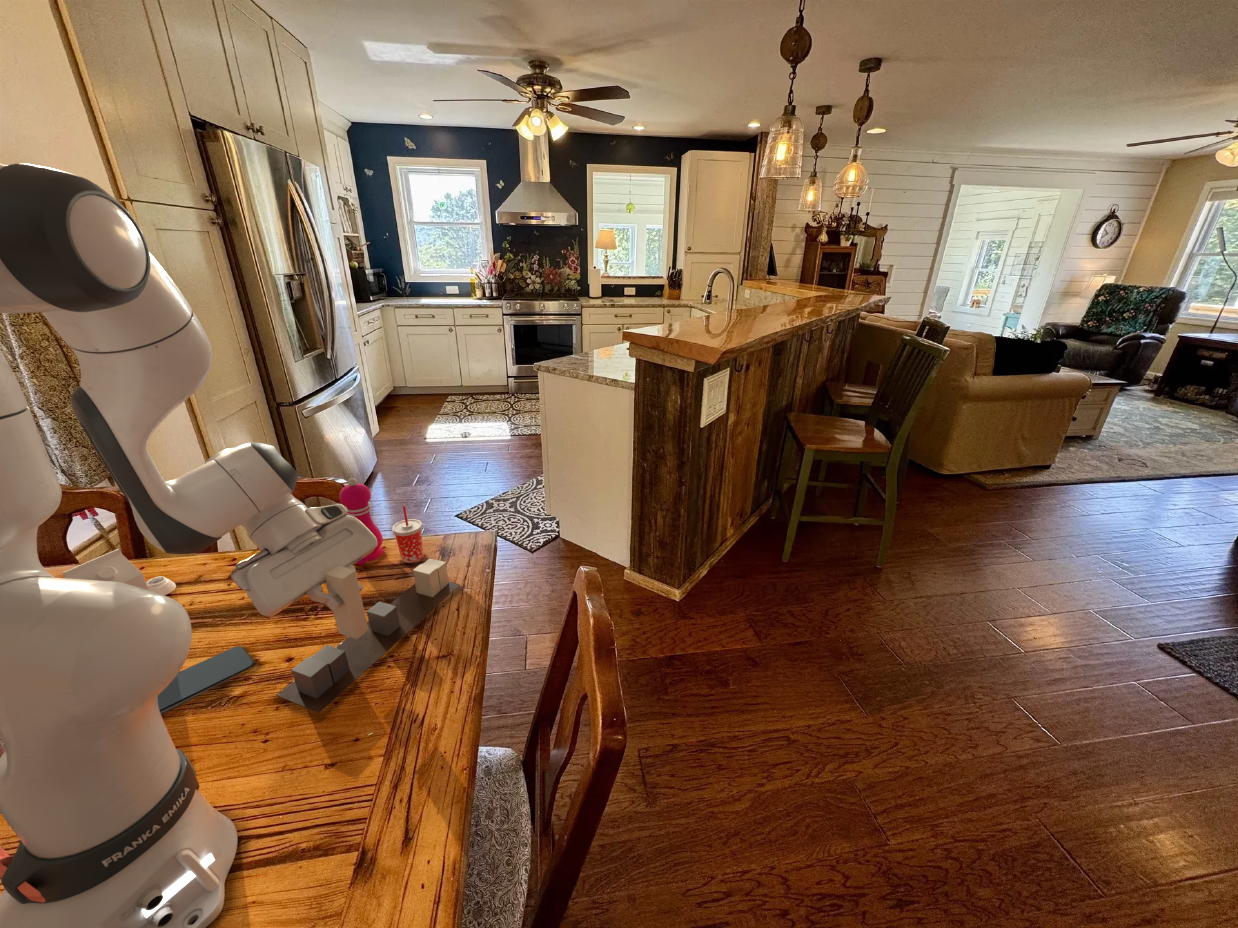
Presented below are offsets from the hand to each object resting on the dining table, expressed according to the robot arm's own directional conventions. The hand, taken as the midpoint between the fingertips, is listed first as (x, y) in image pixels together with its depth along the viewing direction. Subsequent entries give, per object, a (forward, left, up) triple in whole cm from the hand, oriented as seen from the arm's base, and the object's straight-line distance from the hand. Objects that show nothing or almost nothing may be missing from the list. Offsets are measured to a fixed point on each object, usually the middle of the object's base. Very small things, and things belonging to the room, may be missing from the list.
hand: (348, 599), depth 80 cm
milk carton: (-13, +37, -12) cm, 41 cm away
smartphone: (-14, +20, -12) cm, 27 cm away
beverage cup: (+27, +13, -12) cm, 32 cm away
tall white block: (0, +1, -7) cm, 7 cm away
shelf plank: (+5, +1, -12) cm, 13 cm away
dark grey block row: (-1, +1, -11) cm, 11 cm away
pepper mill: (+24, +23, -12) cm, 35 cm away
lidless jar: (-1, +52, -12) cm, 53 cm away
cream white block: (+19, +1, -11) cm, 22 cm away
